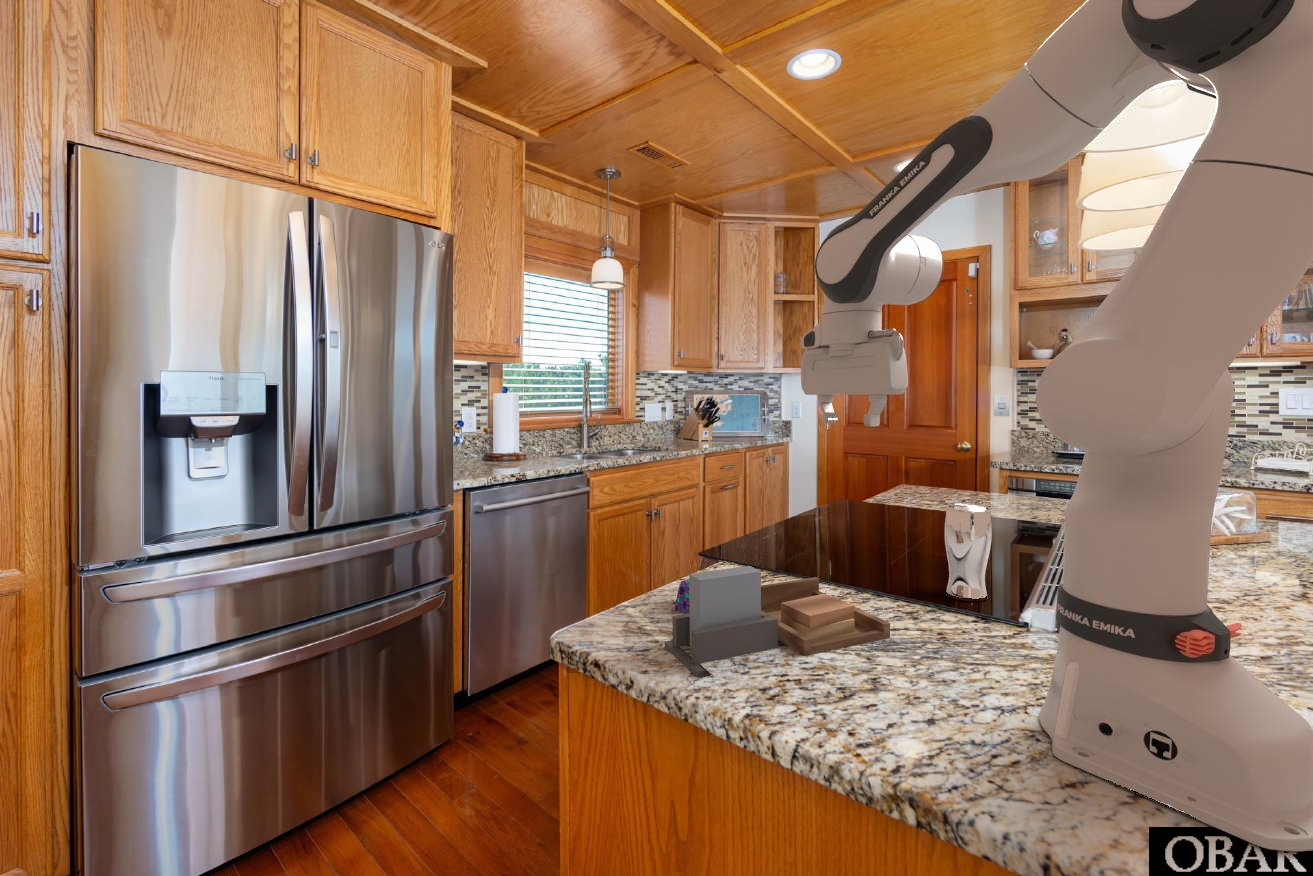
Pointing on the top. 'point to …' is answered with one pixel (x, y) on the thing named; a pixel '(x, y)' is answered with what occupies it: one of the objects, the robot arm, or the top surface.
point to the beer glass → (967, 549)
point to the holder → (720, 641)
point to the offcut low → (822, 629)
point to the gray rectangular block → (724, 597)
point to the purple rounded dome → (683, 597)
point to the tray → (865, 631)
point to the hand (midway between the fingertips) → (849, 424)
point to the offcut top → (817, 611)
